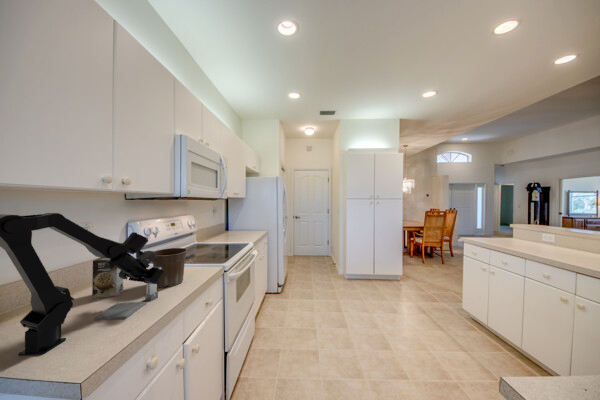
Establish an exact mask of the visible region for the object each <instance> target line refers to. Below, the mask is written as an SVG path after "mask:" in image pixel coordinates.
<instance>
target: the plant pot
mask: <svg viewBox="0 0 600 400" xmlns="http://www.w3.org/2000/svg"><path fill="white" fill-rule="evenodd" d="M154 253H155V255H156V257H157V258H156V259H154V260H153V261H152V262H151V263H152V267H154V266H156V267H162V268H163V269H164V272H163V273H162V275H161V276H160V278H159V281H160V283H159V284H157V288H167V287H168V288H170V287H174V286H178V285H179V284H182V283H183V281H184V275H185V274H184V273H185V262H186V261H185V260H186V258H187V253H188V249H187V248H182V247H171V248H168V247H167V248H163V249H157V250H154Z"/></svg>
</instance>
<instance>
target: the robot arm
mask: <svg viewBox="0 0 600 400" xmlns="http://www.w3.org/2000/svg"><path fill="white" fill-rule="evenodd" d="M44 229H50V230H53V231H55V232H57V233H59V234H60V235H63V236H65V237H67V238H69V239H71V240H73V241H74V242H76V243H78V244H81V245H83V247H85V248H86V249H87V251H88V252H89V253H91V254H92V255H93V256H95V257H97V258H109V260H108V261H105V265H104V268H108V269H112V268H113V267H114V266H115V267H117V268H118V269H120V273H119V277H120V278H122V279H123V280H128V281H133V282H140V283H145V284H147V283H150V284H159V283H160V281H159V278H160V276H161V275H162V273H163V272H164V269H163V268H162V267H156V266H154V267H153V266H152V267H150V266H151V264H150V263H153V262H152V261H153V260H154V259H156V258H157V257H156V255H155V253H154V251H155V250H154V251H152V250H144V251H142V249H143V248H144V247H146V245H147V243H148V242H149V239H148V237H146V236H143V235H141V234H138V233H137V232H131V233H130V234H129V235H128V237H127V238H126V239H125V240H124V241H123V242H117V241H114V240H113V239H110V238H105V237H101V236H98V234H95V233H93V232H92V231H89V230H88V229H86V228H85V227H83V226H81V225H79V224H78V223H76V222H74V221H71V220H70V219H69V218H67V217H66V216H64V215H63V214H62V213H60V212H45V213H40V214H39V213H38V214H28V215H27V214H26V215H19V214H2V213H1V214H0V248H1V249H3V250H4V251H5V253H6V254H7V256H8V258H9V259H10V261H11V262H12V264H13V266H14V267H15V269H16V271H17V272H18V274H19V276H20V277H21V279H22V280H23V282H24V284H25V286H26V287H27V289H28V290H29V292H30V294H31V295H30V306H31V310H30V311H29V312H28V313H27V314H26V315H25V316H24V317H23V318H22V319H21V320H20V321H19V323H20V324H21V326H22V328H27V330H26V331H24V349H23V350H21V351H19V352H18V356H31V355H32V356H33V355H35V356H36V355H44V354H46V353H47V352H49V351H51V350H53V348H56V347H58V345H60V344H62V343H63V342H65V341H67V338H66V337H62V325H63V324H64V323H65V320H66V318H67V316H68V314H69V312H71V309H72V308H73V306H74V303H73V301H74V300H75V298H74V297H73V296H72V295H71V292H70V289H69V288H68V287H62V286H57V285H55V283H54V282H53V280H52V278H51V277H50V274H49V273H48V271H47V269H46V267H45V265H44V264H43V262H42V260H41V259H40V256H39V255H38V253H37V252H36V250H35V248H34V246H33V242H32V239H33V231H39V230H44ZM133 255H135V256H133ZM149 267H150V268H149Z"/></svg>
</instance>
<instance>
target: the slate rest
mask: <svg viewBox="0 0 600 400" xmlns="http://www.w3.org/2000/svg"><path fill="white" fill-rule="evenodd" d="M146 305H147V301H133V302H130V301H129V302H127V301H126V302H116V303H115V304H113V305H112V306H109V307H108V308H106V309H105V310H103V311H102V312H100V313H98V314H97V315H95V316H94V317H93V321H95V320H121V319H122V320H123V319H128V318H130V317H131V316H132V315H134V313H136V312H137V311H139V310H140V309H141V308H143V307H144V306H146Z"/></svg>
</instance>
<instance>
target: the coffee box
mask: <svg viewBox="0 0 600 400" xmlns="http://www.w3.org/2000/svg"><path fill="white" fill-rule="evenodd" d="M108 260H109V258H101V257H97V258H95V259H94V260H92V278H91V279H92V283H91V284H92V286H91V287H92V289H91V291H92V292H91V293H92V295H91V298H92V299H95V298H96V299H97V298H107V297H108V298H110V297H117V296H119V295H120V294H121V293H123V292H124V279H122V278H120V277H119V273H120V269H118V268H117V267H115V266H114V267H113V268H112V269H108V268H104V265H105V261H108Z"/></svg>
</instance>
